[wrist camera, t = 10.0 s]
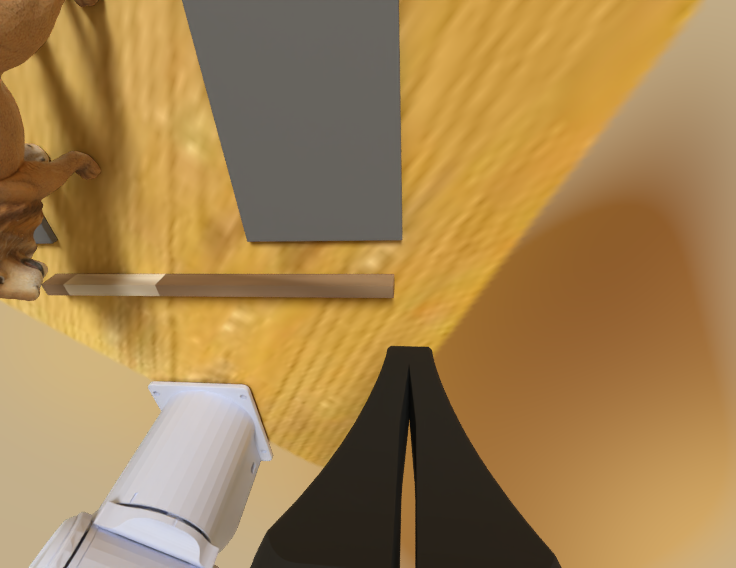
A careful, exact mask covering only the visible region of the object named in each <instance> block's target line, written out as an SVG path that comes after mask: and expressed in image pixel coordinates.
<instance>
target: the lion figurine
mask: <svg viewBox="0 0 736 568" xmlns="http://www.w3.org/2000/svg"><path fill="white" fill-rule="evenodd" d="M64 1H65V0H0V298H5V299H19V300H26V301H33V300H36V299H37V298H38V297H39V295H40V287H41V285H42V282H43V278H44V277H45V276H46V274H47V272H48V268H47V266H46V265H45V264H44V263H42V262H39V261H36V260H33V259H31V258H32V256H33V254H34V252H35V251H36V249H37V245H36V242H35V240H34V237H33V234H34V231H35V229H36V228H37V227H38V226H39V225H40V224H41V223H42V219H43V218H44V217H43V212H42V208H43V204H42V202H41V200H42V199H43V198H45V197H46V196H48V195H49V194H51V193H52V192H54V191H55V190H56V189H58V188H59V187H60V186H62V185H63V184H64V183H65V182H66V181H67V179H68V178H69V177H70V176H71V175H72V174H73V173H74V172H76V173H77V174H79V175H80V176H81V177H82V178H84V179H90V178H91V179H93V178H96V177H97V175H98V174H99V173H100V172H101V170H100V168H99V166H98V164H97V163H96V162H95V161H94V160H93V159H92V158H91V157H90V156H89V155H87V154H84V153H81V152H78V151H70V152H68V153H66V154H64V155H61V156H60V157H59V158H57V159H55V160H53V161H51V162H49V158H48V155H47V154H46V152H45V151H44V150H42V149H41V148H40V147H39V146H37V145H35V144H27V143H24V127H23V123H22V119H21V115H20V112H19V109H18V106H17V104H16V102H15V99H14V97H13V96H12V94H11V93H10V91H9V90H8V88H7V87H6V85H5V84H4V83H3V81H2V80H1V75H2V74H3V72H5V71H7V70H9V69H11V68H14V67H16V66H19V65H20V64H22V63H24V62H25V61H26V60H28V59H29V58H30V57H31V56H32V55H33V54H34V53H35V52H36V51H37V50H38V49H39V48H40V47H41V46H42V45H43V44H44V43H45V41H46V40H47V39H48V37H49V36H50V34H51V31H52V29H53V27H54V25H55V22H56V19H57V17H58V15H59V13H60V10H61V7H62V5H63V3H64ZM74 1H75V2H76V3H77V4H78V5H79V6H81V7H85V6H93V5H95V4H96V2H98V1H99V0H74Z"/></svg>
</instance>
